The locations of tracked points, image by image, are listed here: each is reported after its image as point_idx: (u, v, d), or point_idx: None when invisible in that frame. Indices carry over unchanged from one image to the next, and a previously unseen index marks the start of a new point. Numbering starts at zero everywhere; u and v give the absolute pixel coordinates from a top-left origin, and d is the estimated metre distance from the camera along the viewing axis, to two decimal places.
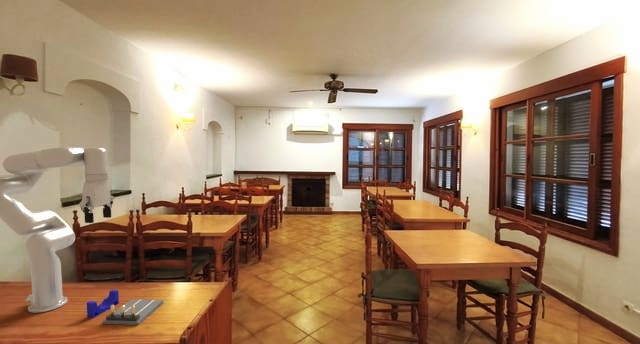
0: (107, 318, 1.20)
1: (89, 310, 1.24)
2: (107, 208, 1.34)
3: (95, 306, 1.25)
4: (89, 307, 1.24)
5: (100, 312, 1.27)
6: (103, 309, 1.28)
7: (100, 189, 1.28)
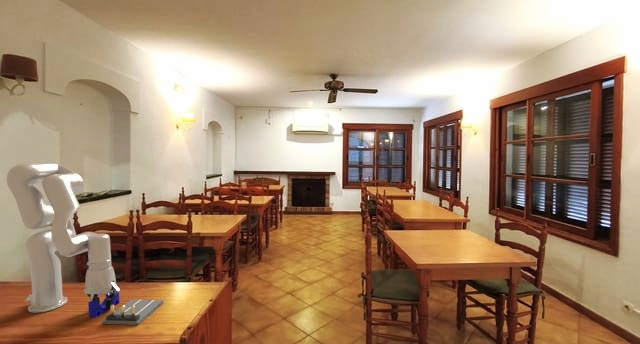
0: (107, 318, 1.20)
1: (91, 310, 1.24)
2: (97, 298, 1.31)
3: (97, 306, 1.25)
4: (91, 307, 1.24)
5: (102, 311, 1.27)
6: (105, 308, 1.29)
7: None
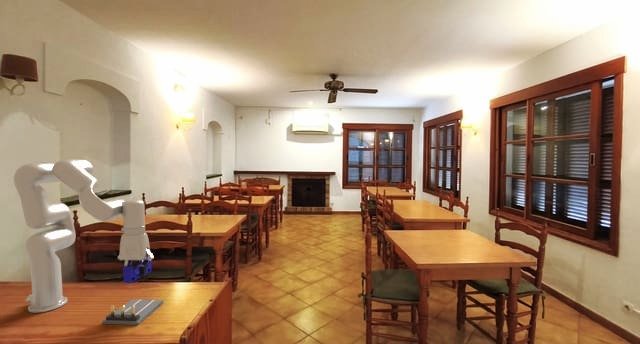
0: (107, 318, 1.20)
1: (126, 275, 1.23)
2: (131, 265, 1.29)
3: (132, 271, 1.24)
4: (126, 271, 1.23)
5: (136, 277, 1.26)
6: (138, 275, 1.27)
7: None
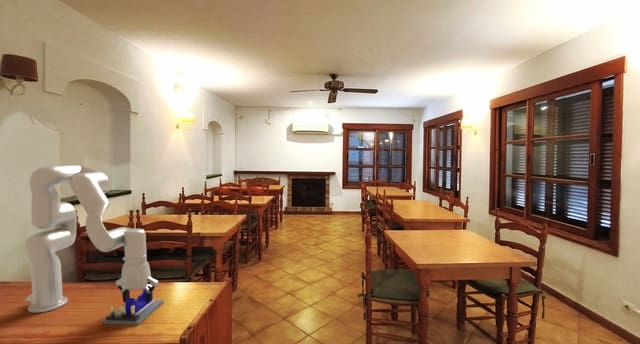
0: (107, 318, 1.20)
1: (128, 307, 1.24)
2: (127, 291, 1.30)
3: (134, 303, 1.25)
4: (128, 304, 1.24)
5: (138, 309, 1.27)
6: (140, 306, 1.28)
7: None
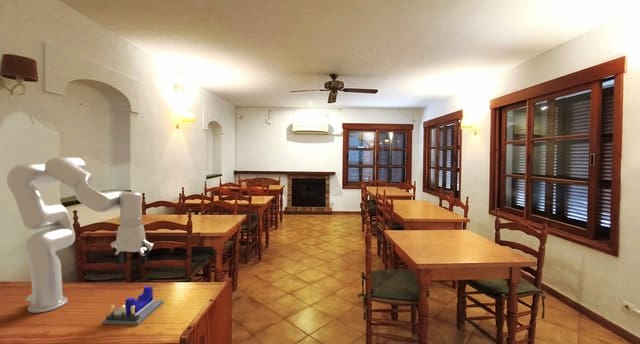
0: (107, 318, 1.20)
1: (128, 307, 1.24)
2: (121, 253, 1.30)
3: (134, 303, 1.25)
4: (128, 304, 1.24)
5: (138, 309, 1.27)
6: (140, 306, 1.28)
7: None
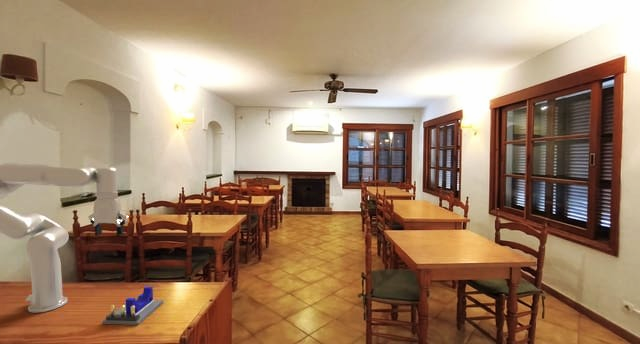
0: (107, 318, 1.20)
1: (128, 307, 1.24)
2: (99, 225, 1.39)
3: (134, 303, 1.25)
4: (129, 304, 1.24)
5: (138, 309, 1.27)
6: (140, 306, 1.28)
7: None
